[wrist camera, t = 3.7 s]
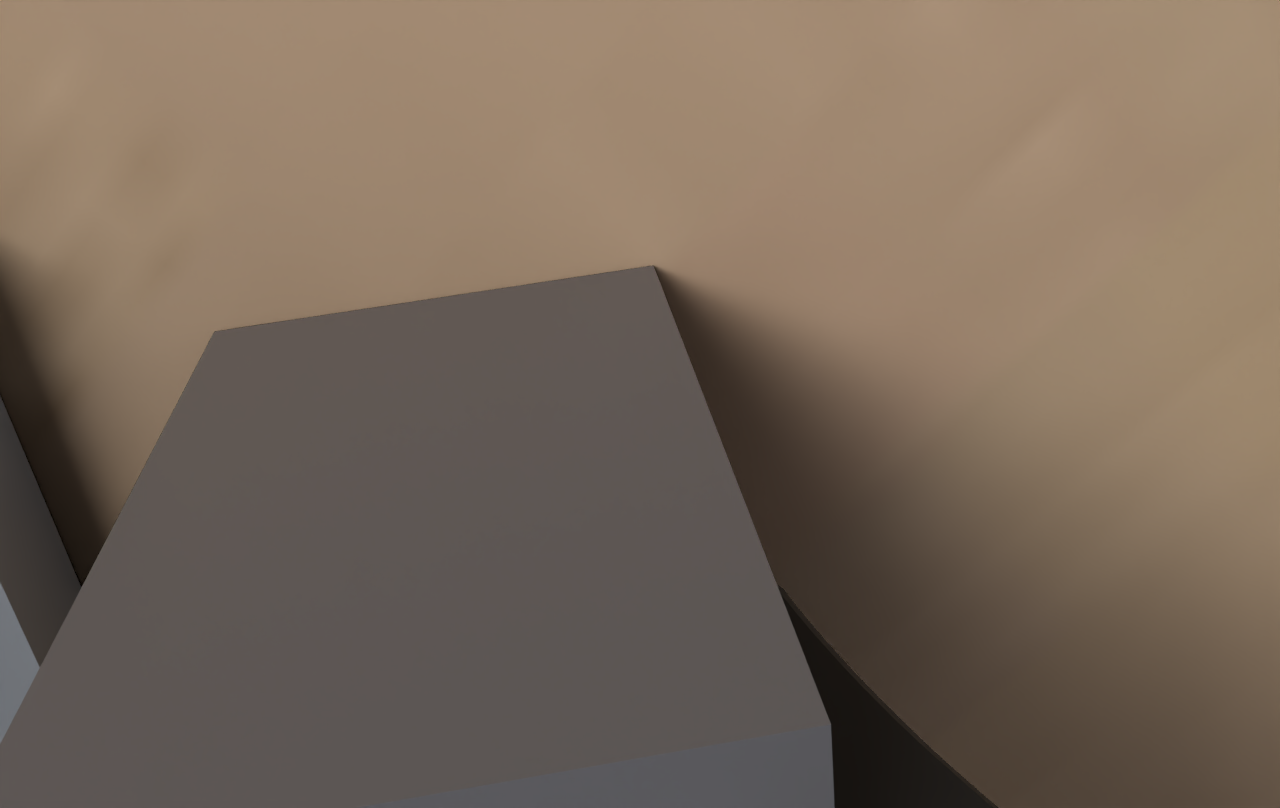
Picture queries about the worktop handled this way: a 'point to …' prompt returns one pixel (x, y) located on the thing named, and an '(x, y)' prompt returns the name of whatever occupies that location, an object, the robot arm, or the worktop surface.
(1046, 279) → the worktop surface
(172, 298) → the worktop surface
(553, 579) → the block
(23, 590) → the drive tray
